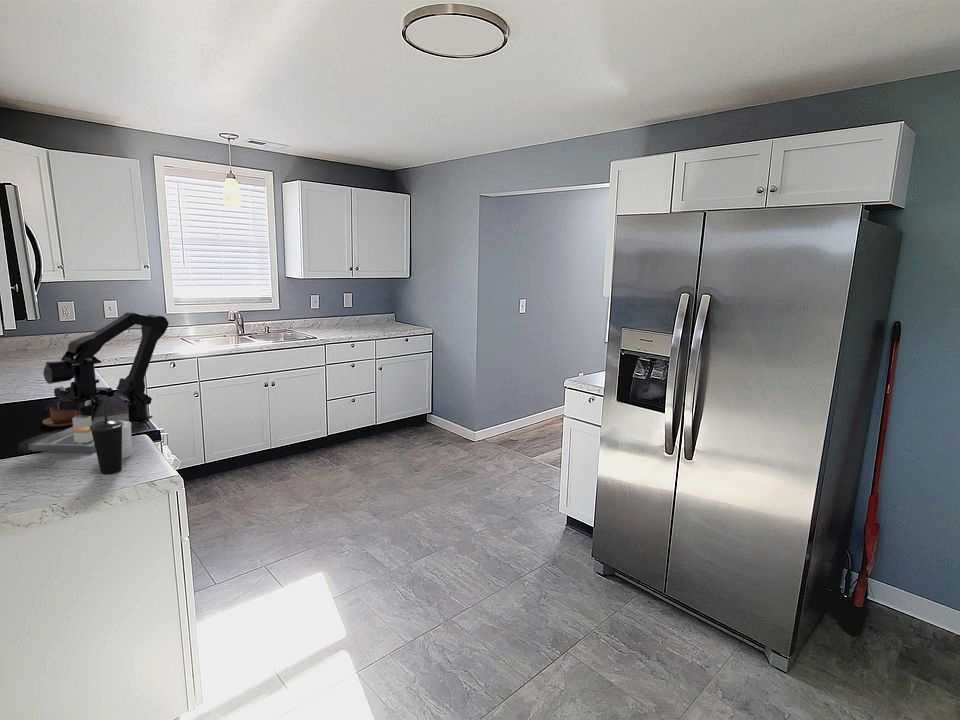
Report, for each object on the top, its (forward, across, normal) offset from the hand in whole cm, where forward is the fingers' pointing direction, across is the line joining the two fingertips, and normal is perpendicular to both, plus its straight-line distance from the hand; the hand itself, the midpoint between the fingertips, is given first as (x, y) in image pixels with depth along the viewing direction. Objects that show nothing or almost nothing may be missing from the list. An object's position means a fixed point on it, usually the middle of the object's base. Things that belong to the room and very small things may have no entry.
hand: (89, 422), depth 181 cm
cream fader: (+1, +3, 0) cm, 4 cm away
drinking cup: (+3, +31, +27) cm, 42 cm away
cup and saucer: (+4, -7, -14) cm, 16 cm away
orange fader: (+1, +14, +8) cm, 17 cm away
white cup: (+3, +20, +22) cm, 30 cm away
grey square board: (+3, +9, +4) cm, 11 cm away
